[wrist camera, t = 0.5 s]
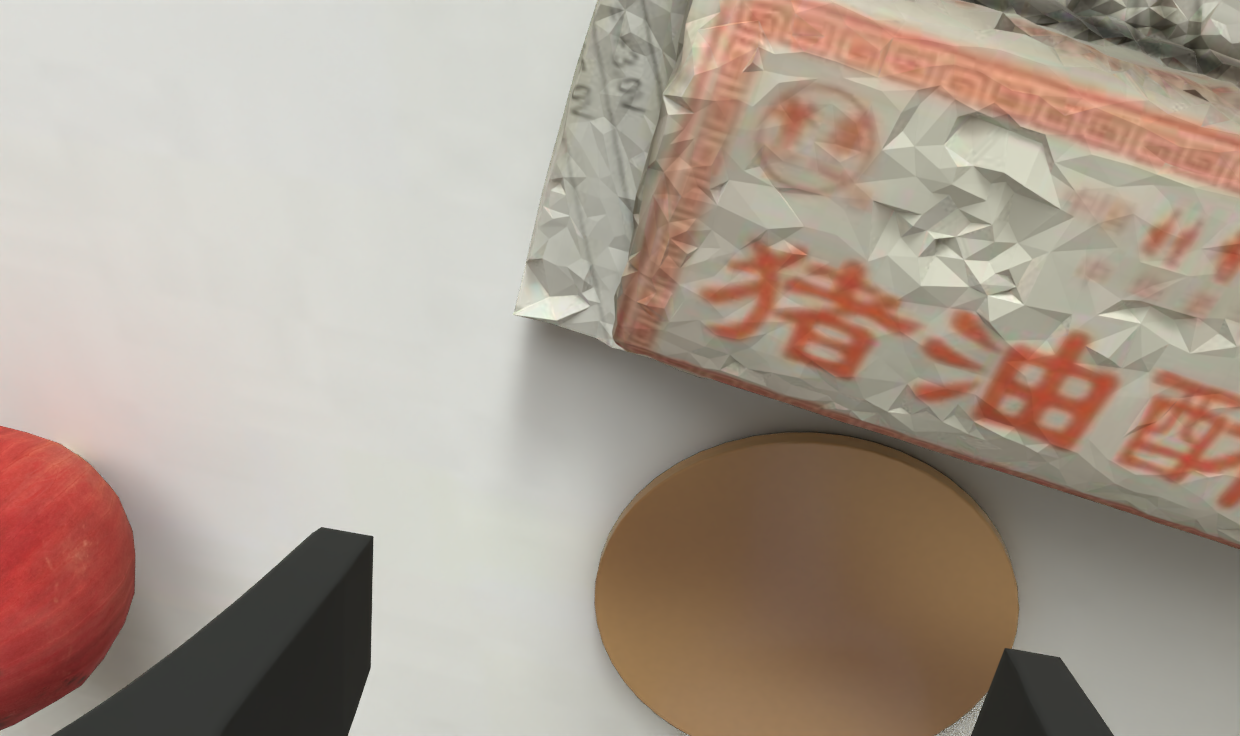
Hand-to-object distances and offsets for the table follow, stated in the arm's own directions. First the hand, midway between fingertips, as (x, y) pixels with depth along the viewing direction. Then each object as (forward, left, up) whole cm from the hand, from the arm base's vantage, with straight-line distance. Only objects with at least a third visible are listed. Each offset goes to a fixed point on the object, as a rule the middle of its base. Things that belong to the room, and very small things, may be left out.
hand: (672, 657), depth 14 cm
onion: (-7, +13, -10) cm, 18 cm away
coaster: (-7, -3, -10) cm, 13 cm away
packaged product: (+3, -6, -10) cm, 12 cm away
